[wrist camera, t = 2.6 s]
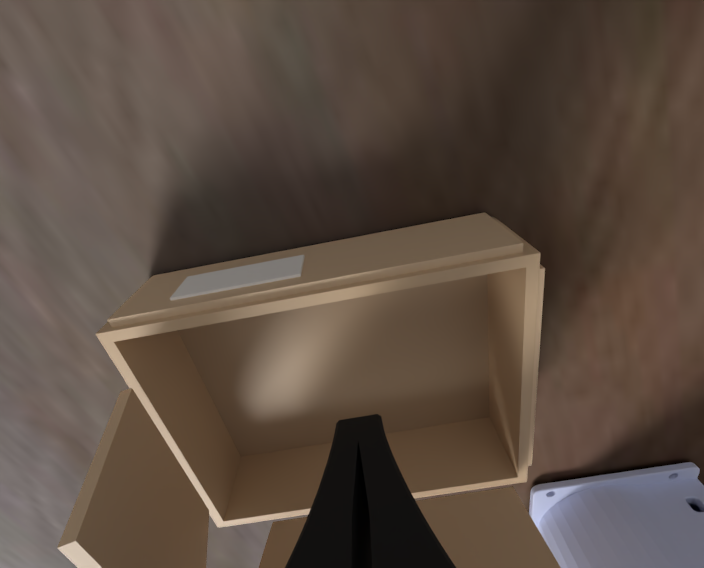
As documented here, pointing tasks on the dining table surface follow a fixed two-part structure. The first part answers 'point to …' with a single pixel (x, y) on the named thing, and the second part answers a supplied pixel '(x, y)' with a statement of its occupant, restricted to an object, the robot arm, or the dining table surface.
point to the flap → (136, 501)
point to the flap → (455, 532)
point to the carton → (341, 362)
